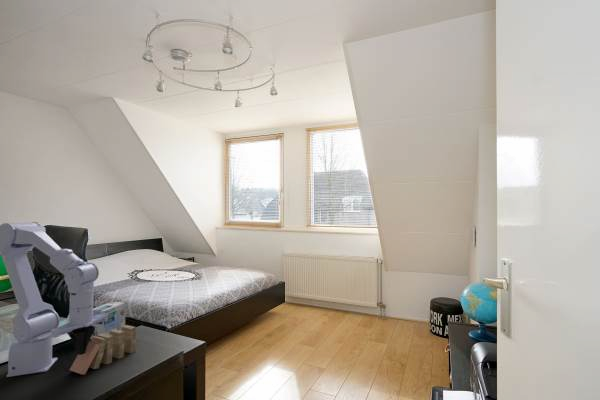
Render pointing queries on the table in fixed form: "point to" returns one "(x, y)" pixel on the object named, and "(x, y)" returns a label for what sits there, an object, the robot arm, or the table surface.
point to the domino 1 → (85, 359)
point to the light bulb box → (109, 317)
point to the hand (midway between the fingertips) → (80, 353)
